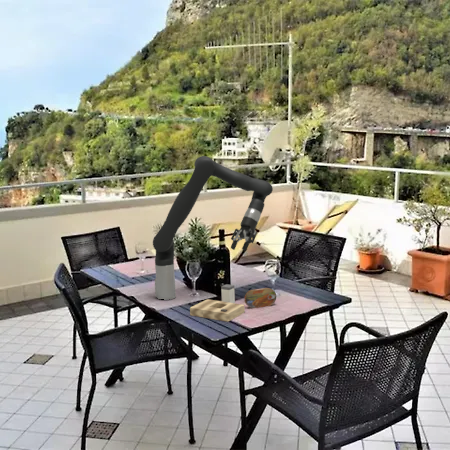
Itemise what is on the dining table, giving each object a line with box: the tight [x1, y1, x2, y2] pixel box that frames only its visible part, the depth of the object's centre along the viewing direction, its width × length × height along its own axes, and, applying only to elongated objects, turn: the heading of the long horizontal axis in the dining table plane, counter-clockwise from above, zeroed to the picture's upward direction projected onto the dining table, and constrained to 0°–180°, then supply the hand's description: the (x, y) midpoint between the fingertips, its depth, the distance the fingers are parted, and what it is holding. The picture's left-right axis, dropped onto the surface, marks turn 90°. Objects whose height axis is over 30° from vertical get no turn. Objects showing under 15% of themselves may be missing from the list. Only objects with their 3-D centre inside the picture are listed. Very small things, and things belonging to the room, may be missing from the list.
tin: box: [243, 287, 277, 309], centre depth 260 cm, size 15×3×8 cm, turn 106°
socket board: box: [189, 299, 246, 322], centre depth 251 cm, size 20×14×4 cm
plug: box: [220, 283, 236, 304], centre depth 264 cm, size 4×4×9 cm
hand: (238, 249), depth 266 cm, fingers open, 8 cm apart
